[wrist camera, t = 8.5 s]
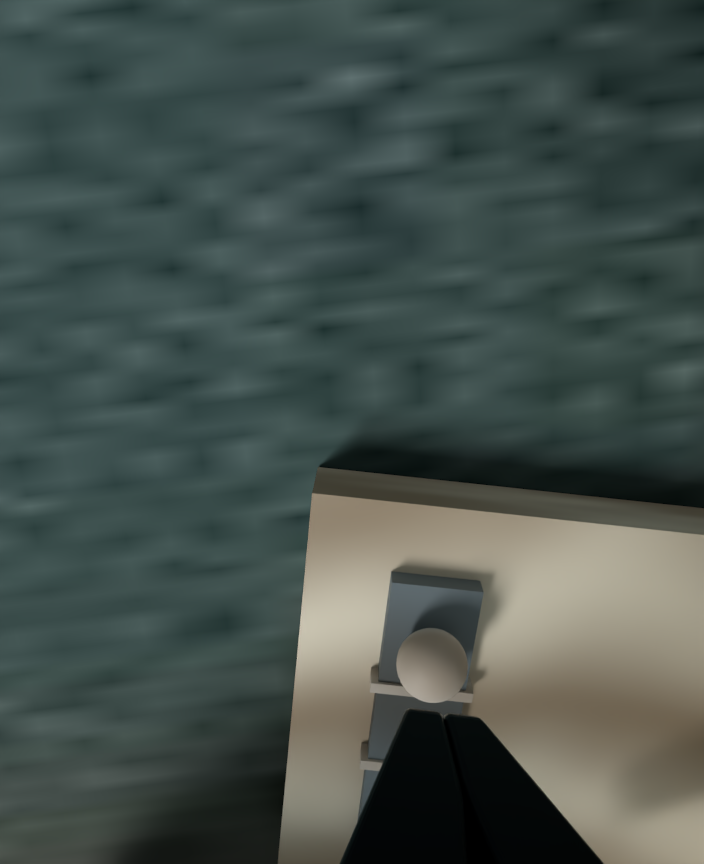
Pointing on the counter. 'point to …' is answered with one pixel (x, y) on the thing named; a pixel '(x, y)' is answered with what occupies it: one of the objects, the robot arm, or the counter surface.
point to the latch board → (503, 653)
